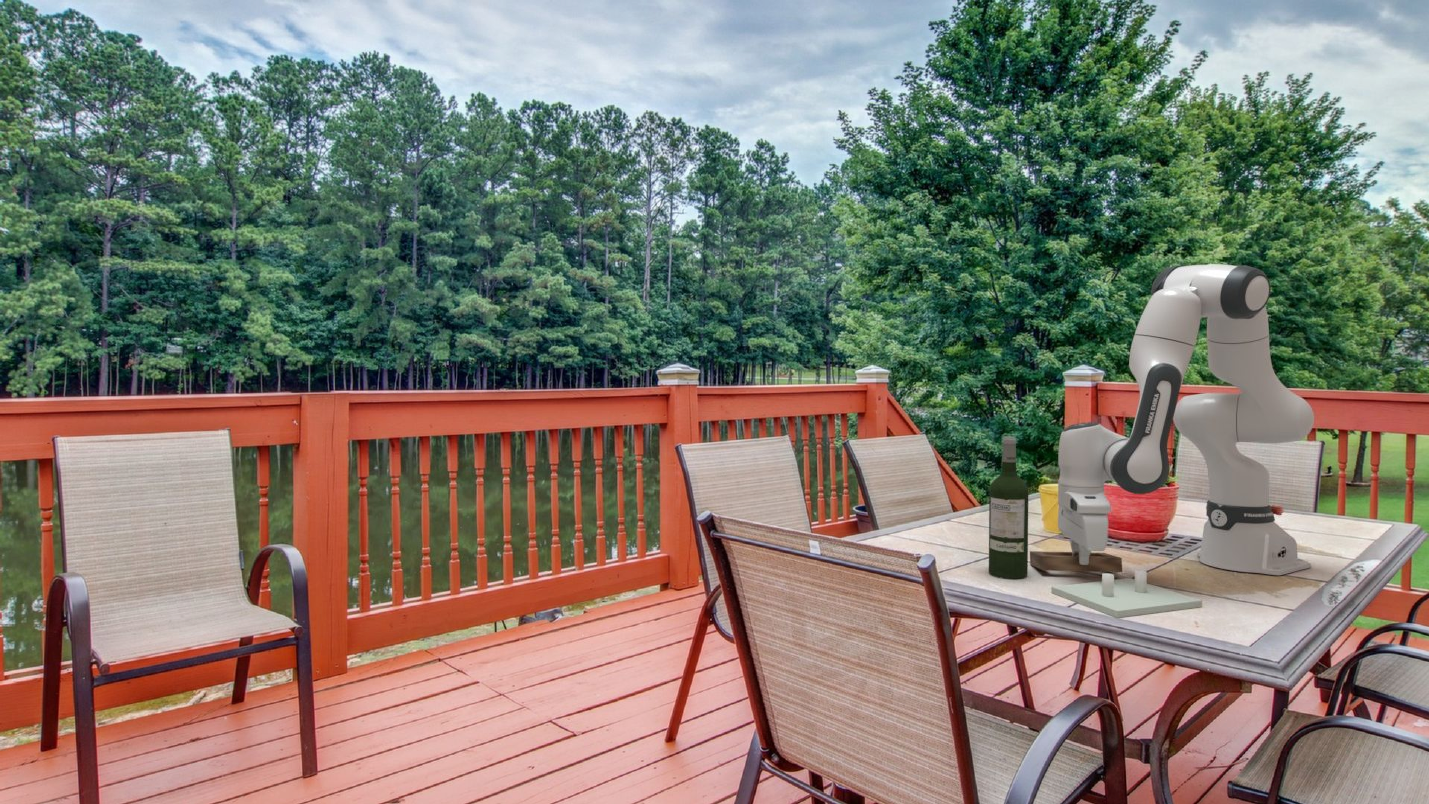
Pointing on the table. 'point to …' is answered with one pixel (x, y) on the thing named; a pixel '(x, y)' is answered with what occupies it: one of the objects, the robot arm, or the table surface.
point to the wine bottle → (1008, 519)
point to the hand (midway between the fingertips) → (1080, 561)
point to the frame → (1075, 562)
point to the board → (1126, 596)
